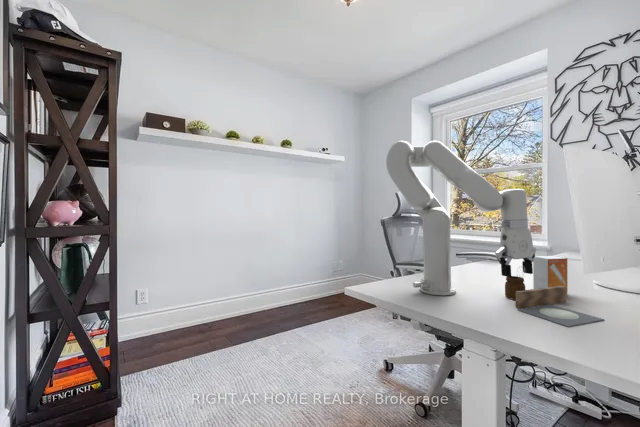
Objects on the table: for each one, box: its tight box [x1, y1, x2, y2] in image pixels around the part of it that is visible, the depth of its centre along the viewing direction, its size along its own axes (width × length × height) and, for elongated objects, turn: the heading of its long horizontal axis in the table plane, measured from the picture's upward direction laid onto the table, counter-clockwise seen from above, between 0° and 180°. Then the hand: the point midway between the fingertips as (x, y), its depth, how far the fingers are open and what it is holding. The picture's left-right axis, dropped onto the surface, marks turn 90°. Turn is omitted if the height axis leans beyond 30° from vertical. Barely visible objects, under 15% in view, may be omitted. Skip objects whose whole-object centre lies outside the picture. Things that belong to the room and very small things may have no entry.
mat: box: [517, 304, 605, 328], centre depth 86 cm, size 14×14×1 cm
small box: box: [532, 255, 568, 296], centre depth 108 cm, size 8×6×13 cm
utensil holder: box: [504, 265, 526, 301], centre depth 103 cm, size 6×6×12 cm
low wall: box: [515, 286, 567, 309], centre depth 95 cm, size 20×2×5 cm, turn 107°
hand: (517, 274), depth 103 cm, fingers open, 9 cm apart
